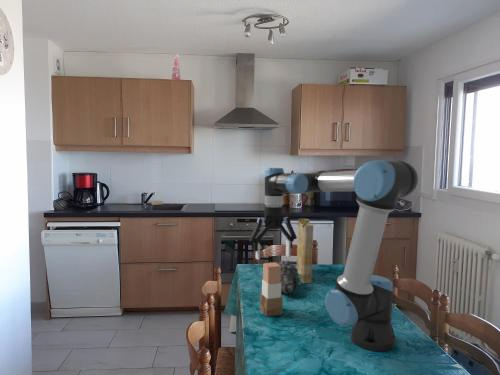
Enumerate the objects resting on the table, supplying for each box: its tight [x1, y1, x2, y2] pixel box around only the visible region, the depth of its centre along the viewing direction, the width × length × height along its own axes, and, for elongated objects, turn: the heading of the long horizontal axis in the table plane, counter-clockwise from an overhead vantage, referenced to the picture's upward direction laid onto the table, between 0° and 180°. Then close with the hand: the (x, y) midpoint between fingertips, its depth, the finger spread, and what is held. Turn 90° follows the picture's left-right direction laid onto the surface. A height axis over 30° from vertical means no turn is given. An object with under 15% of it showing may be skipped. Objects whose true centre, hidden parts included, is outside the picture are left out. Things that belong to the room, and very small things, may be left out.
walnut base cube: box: [259, 292, 284, 317], centre depth 156 cm, size 7×7×7 cm
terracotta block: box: [262, 262, 281, 284], centre depth 155 cm, size 6×6×7 cm
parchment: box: [296, 218, 314, 284], centre depth 202 cm, size 23×6×30 cm, turn 177°
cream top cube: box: [261, 279, 282, 299], centre depth 155 cm, size 6×6×6 cm
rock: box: [276, 260, 301, 295], centre depth 182 cm, size 22×16×15 cm
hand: (273, 257), depth 154 cm, fingers open, 13 cm apart
